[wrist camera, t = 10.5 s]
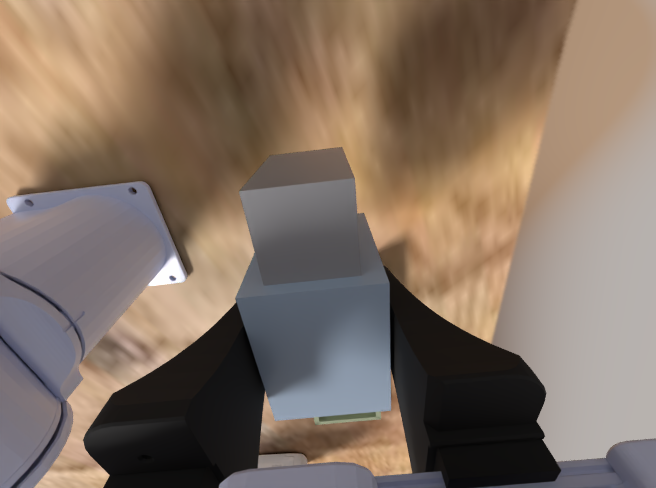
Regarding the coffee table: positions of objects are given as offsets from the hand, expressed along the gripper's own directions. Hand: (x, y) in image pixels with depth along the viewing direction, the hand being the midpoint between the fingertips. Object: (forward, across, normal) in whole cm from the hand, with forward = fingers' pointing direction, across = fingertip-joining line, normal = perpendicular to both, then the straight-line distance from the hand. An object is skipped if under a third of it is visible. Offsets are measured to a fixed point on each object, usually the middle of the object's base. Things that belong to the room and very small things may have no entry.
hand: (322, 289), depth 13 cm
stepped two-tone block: (+2, 0, -1) cm, 2 cm away
